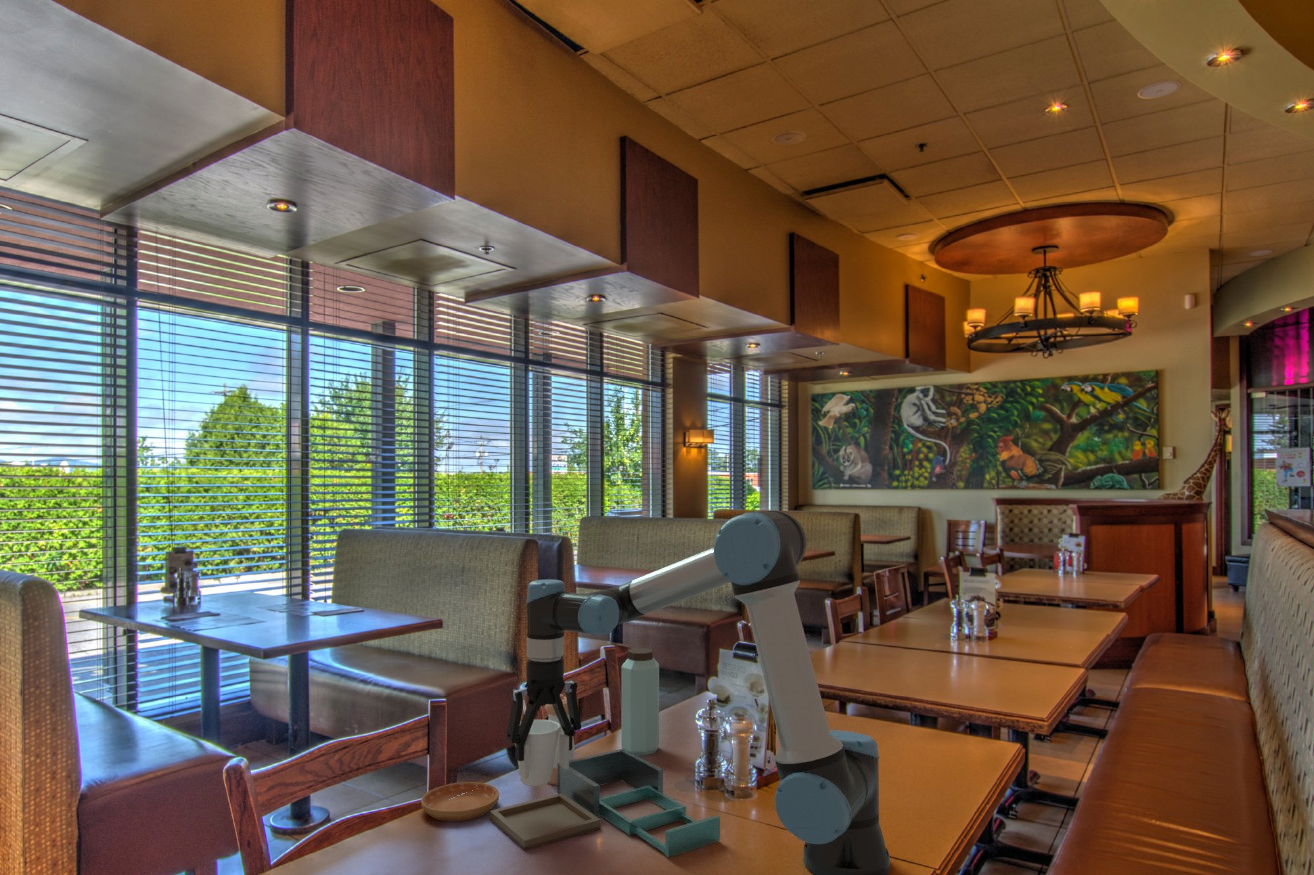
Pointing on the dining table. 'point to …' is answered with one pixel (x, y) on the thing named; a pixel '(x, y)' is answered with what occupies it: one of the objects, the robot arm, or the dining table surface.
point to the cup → (541, 751)
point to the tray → (544, 821)
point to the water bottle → (640, 702)
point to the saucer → (460, 801)
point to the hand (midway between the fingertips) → (544, 771)
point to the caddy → (661, 821)
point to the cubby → (605, 776)
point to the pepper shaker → (554, 717)
